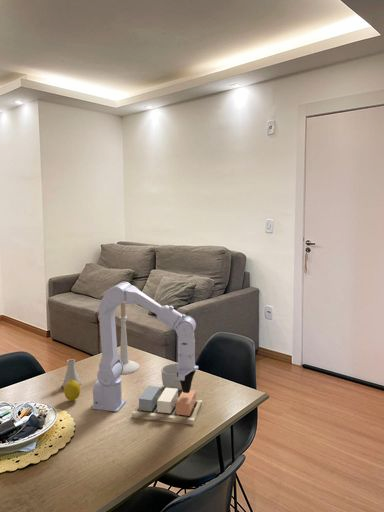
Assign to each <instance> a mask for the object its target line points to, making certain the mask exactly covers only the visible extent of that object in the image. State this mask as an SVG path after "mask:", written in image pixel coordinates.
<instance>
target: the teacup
mask: <svg viewBox="0 0 384 512" xmlns="http://www.w3.org/2000/svg"><path fill="white" fill-rule="evenodd" d="M177 366H178V363H171V364H166V365H164V366H163V367H161V369H160V370H161V371H160V372H161V382H162V386H163V387H164V388H175V389H178V392H179V391H183V390H182V386H181V383H180V380H178V377H177V373H178V369H177Z"/></svg>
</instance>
